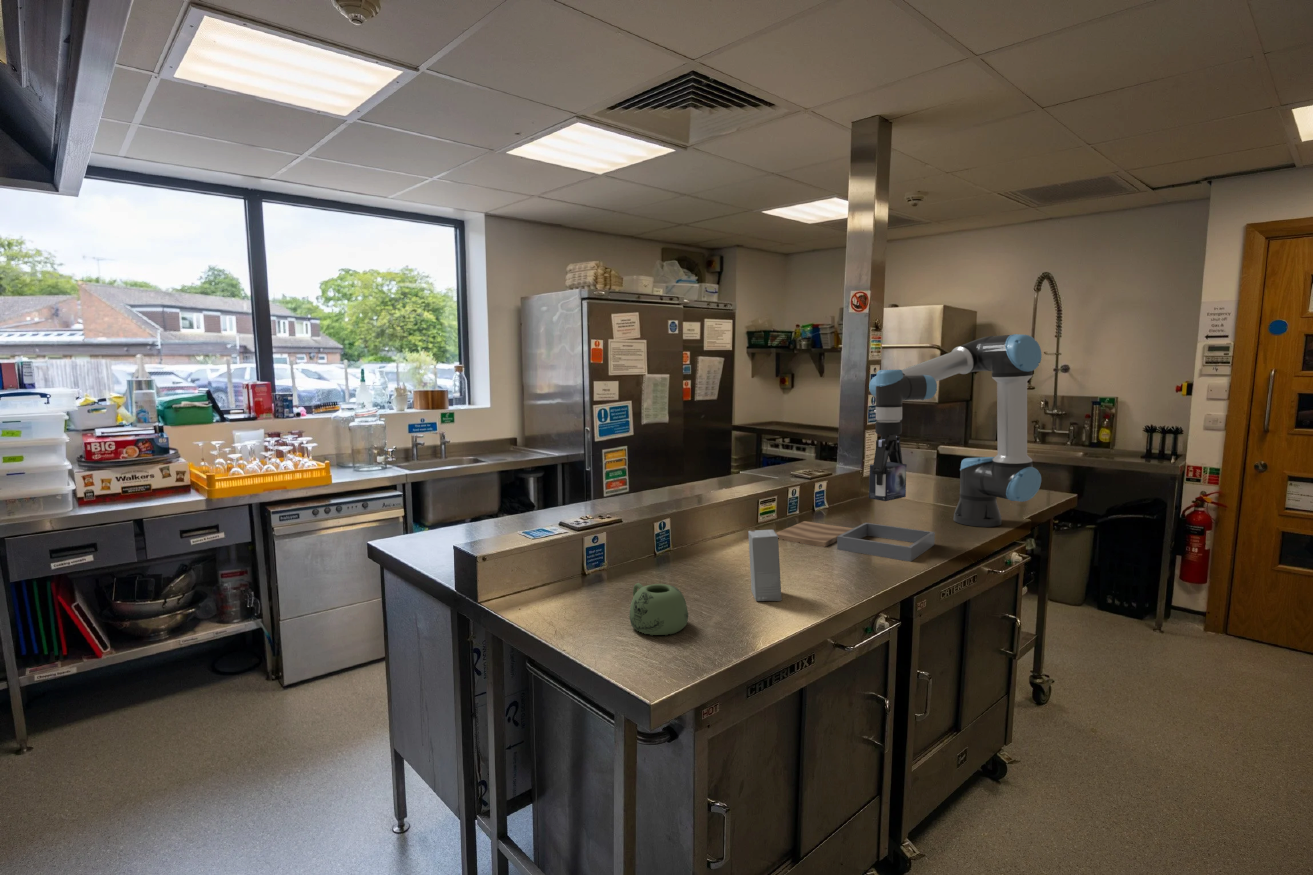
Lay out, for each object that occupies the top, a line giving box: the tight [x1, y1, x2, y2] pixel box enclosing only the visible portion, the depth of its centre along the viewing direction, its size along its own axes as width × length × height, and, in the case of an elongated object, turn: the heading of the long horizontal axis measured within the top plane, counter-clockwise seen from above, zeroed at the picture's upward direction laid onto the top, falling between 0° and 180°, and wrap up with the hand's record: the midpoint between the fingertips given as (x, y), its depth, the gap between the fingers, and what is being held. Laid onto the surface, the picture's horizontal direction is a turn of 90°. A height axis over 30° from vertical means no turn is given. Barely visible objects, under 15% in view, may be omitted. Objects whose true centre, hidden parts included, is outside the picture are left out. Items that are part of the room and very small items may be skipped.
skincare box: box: [747, 529, 782, 602], centre depth 158 cm, size 8×7×16 cm
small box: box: [868, 461, 907, 502], centre depth 198 cm, size 11×6×10 cm, turn 126°
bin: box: [836, 522, 936, 562], centre depth 200 cm, size 22×22×4 cm
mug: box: [629, 582, 689, 636], centre depth 142 cm, size 16×13×9 cm
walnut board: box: [775, 520, 854, 548], centre depth 215 cm, size 22×18×2 cm
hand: (887, 492), depth 198 cm, fingers closed on small box, 11 cm apart
